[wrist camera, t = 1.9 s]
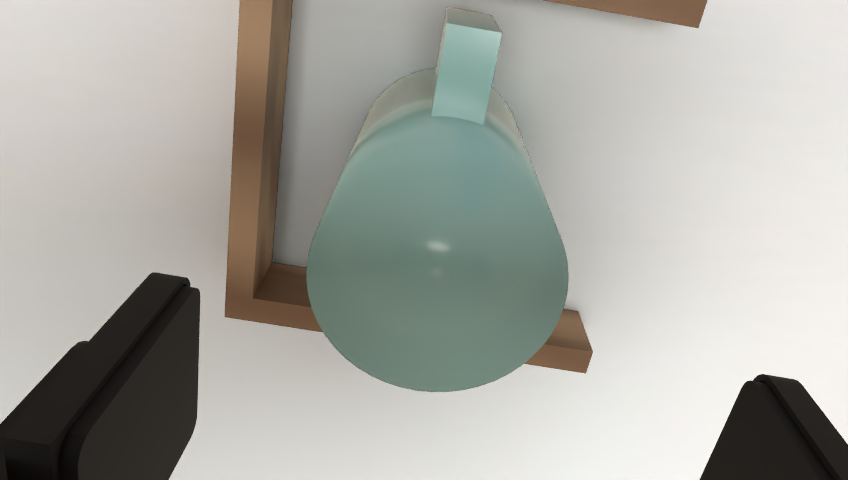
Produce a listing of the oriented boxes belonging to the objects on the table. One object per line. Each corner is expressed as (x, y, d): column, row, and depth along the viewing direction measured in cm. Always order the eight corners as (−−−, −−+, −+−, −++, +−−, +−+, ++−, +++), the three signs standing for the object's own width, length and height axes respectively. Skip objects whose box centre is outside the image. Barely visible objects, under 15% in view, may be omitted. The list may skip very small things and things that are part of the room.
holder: (572, 331, 28) (585, 373, 26) (246, 279, 28) (224, 316, 25) (677, -13, 23) (709, -7, 20) (269, -88, 22) (244, -92, 19)
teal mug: (500, 232, 27) (534, 408, 17) (352, 207, 26) (295, 371, 16) (550, 18, 23) (631, 77, 13) (380, -13, 23) (331, 24, 13)
